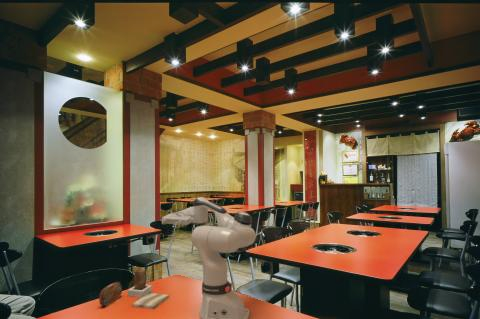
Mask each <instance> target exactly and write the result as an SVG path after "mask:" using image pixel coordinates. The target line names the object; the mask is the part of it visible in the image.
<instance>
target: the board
mask: <svg viewBox="0 0 480 319" xmlns="http://www.w3.org/2000/svg"><path fill="white" fill-rule="evenodd" d="M169 298H170V294H164V293H155V292H154V293H153V292H150V293H148V294H146V295H145V296H143V297H139V299H137V300H135V302H133V303H131V304H132V305H131V306H132V307H135V308H143V309H149V310H150V309H151V310H155V309H157V308H158V307H159V306H160V305H162V303H164V302H166V300H168V299H169Z"/></svg>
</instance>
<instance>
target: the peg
mask: <svg viewBox="0 0 480 319" xmlns="http://www.w3.org/2000/svg"><path fill="white" fill-rule="evenodd" d="M146 271H147V270H146V269H140V268H139V269H138V270H135V271H134V286H135V290H143V289H144V288H145V286H146V285H147V284H146V283H147V282H146V278H147V277H146V276H147V275H146V274H147V273H146Z"/></svg>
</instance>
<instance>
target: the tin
mask: <svg viewBox="0 0 480 319" xmlns="http://www.w3.org/2000/svg"><path fill="white" fill-rule="evenodd" d="M122 292H123V286H122V283H121V282H120V281H116V282H113V283H110V284H109V285H107V286H105V287H104V288H102V289H101V291H100V292H99V295H98V296H99V297H98V300H99V305H100V306H102V307H103V306H104V307H108V306H110V305H112V304H113V303H114V302H116V301H117V300H119V299H120V298H121V295H122Z"/></svg>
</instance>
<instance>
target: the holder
mask: <svg viewBox="0 0 480 319" xmlns="http://www.w3.org/2000/svg"><path fill="white" fill-rule="evenodd" d="M152 292H153V285H152V284H151V285H150V284H146V286H145V288H144V289H143V290H135V285H134V286H132V287H130V288H129V289H127V297H134V298H142V297H143V296H145V295H146V294H148V293H152Z"/></svg>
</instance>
